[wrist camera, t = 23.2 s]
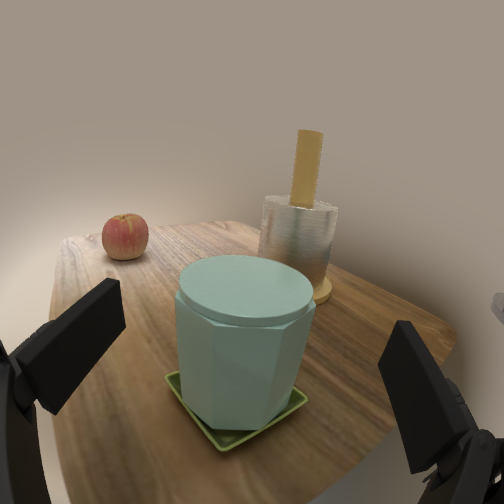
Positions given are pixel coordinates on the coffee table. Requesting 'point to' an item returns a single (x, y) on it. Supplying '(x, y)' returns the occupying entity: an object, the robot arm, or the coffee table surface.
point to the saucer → (233, 437)
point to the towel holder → (301, 220)
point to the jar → (240, 338)
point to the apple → (125, 236)
